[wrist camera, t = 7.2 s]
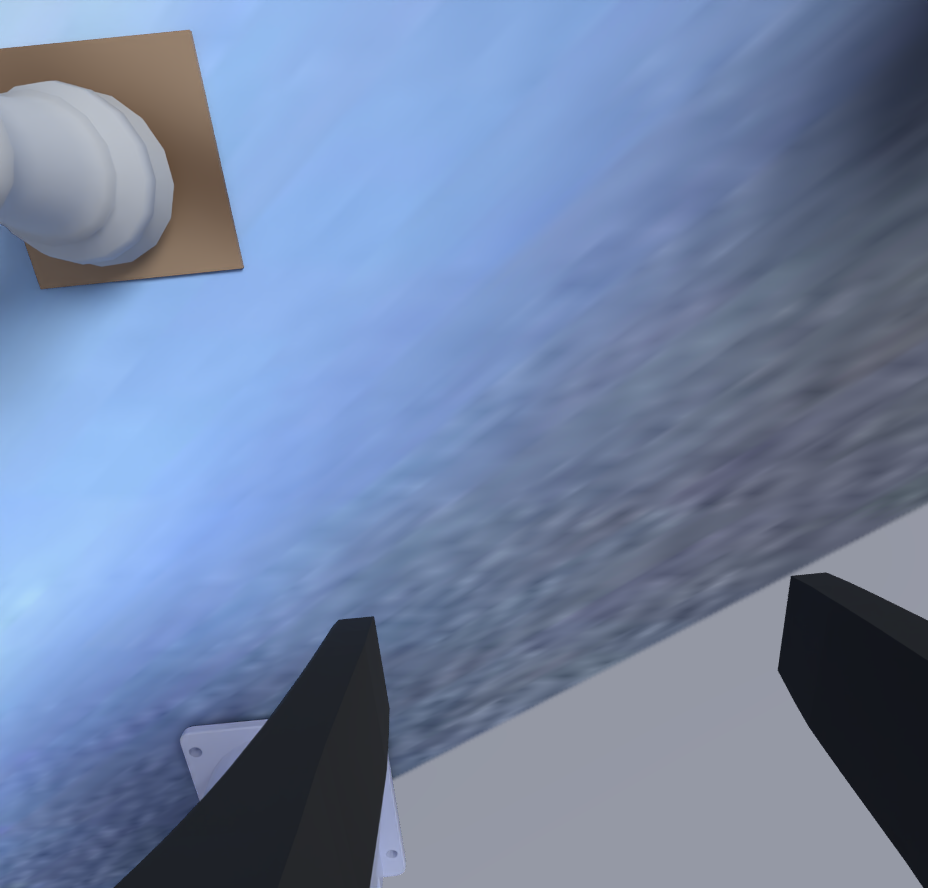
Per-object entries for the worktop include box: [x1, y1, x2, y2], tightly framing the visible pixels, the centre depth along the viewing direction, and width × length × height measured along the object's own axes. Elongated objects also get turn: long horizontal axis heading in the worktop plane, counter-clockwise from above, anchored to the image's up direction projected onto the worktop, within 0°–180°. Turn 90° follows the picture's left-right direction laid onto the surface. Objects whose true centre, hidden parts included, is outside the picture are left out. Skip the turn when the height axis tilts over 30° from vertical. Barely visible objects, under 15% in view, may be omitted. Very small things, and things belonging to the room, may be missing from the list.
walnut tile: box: [0, 30, 244, 289], centre depth 17 cm, size 6×6×1 cm
